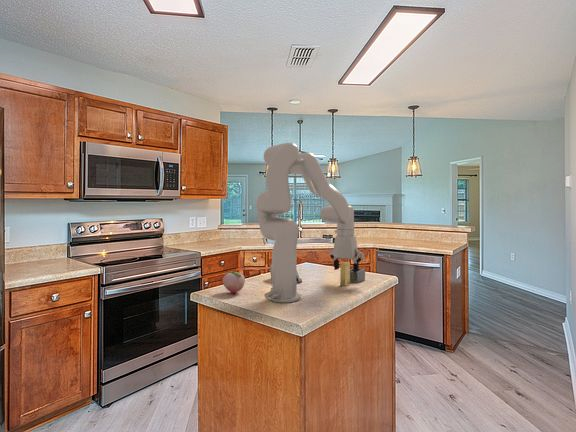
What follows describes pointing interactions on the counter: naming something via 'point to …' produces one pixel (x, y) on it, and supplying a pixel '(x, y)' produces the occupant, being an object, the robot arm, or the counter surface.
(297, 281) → the hinge
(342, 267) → the tan rectangular block
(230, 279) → the decorative fruit
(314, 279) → the counter surface
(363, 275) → the dark grey open box
